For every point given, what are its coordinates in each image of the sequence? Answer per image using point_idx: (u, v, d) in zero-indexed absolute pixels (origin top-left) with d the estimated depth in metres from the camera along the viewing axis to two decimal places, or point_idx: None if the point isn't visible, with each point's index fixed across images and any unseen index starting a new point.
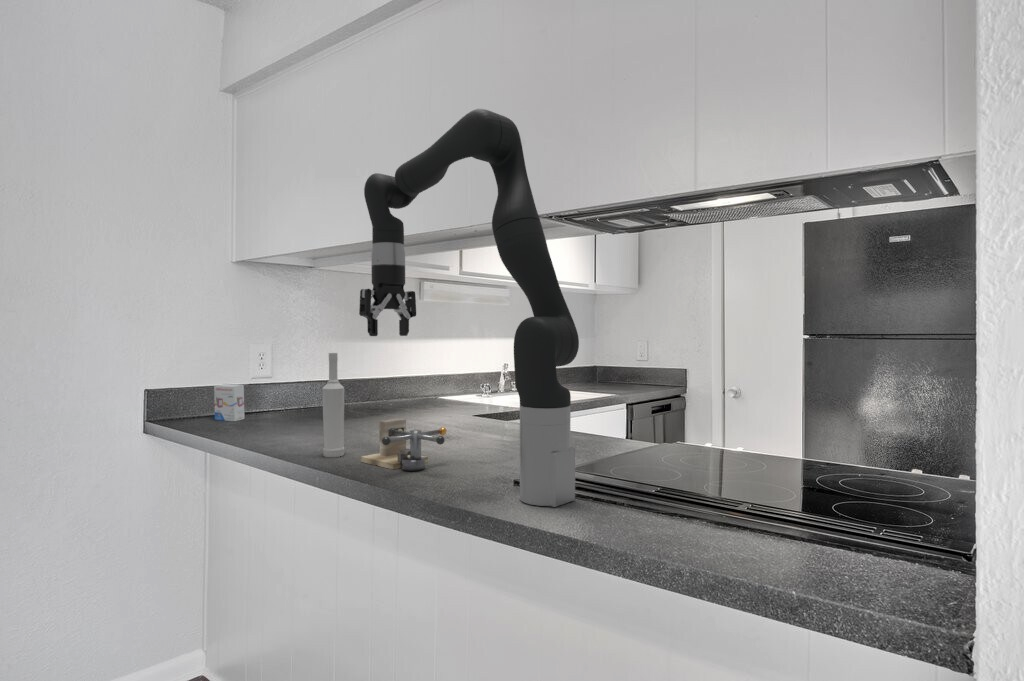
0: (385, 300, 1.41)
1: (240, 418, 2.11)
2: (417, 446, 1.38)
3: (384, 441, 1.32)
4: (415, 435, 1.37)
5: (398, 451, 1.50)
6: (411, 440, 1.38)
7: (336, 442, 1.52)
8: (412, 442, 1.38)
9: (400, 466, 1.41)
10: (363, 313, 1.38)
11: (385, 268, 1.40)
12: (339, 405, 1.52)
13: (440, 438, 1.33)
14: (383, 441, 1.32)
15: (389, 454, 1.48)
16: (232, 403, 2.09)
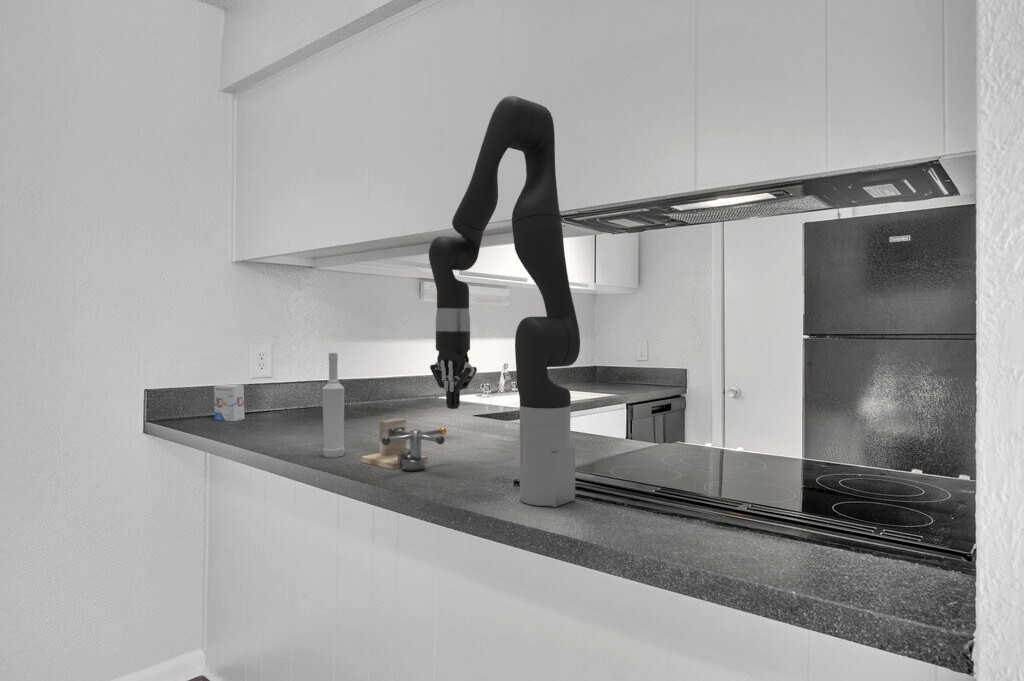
0: None
1: (240, 418, 2.11)
2: (417, 446, 1.38)
3: (384, 441, 1.32)
4: (415, 435, 1.37)
5: (398, 451, 1.50)
6: (411, 440, 1.38)
7: (336, 442, 1.52)
8: (412, 442, 1.38)
9: (400, 466, 1.41)
10: (464, 386, 1.37)
11: (469, 335, 1.38)
12: (339, 405, 1.52)
13: (440, 438, 1.33)
14: (383, 441, 1.32)
15: (389, 454, 1.48)
16: (232, 403, 2.09)
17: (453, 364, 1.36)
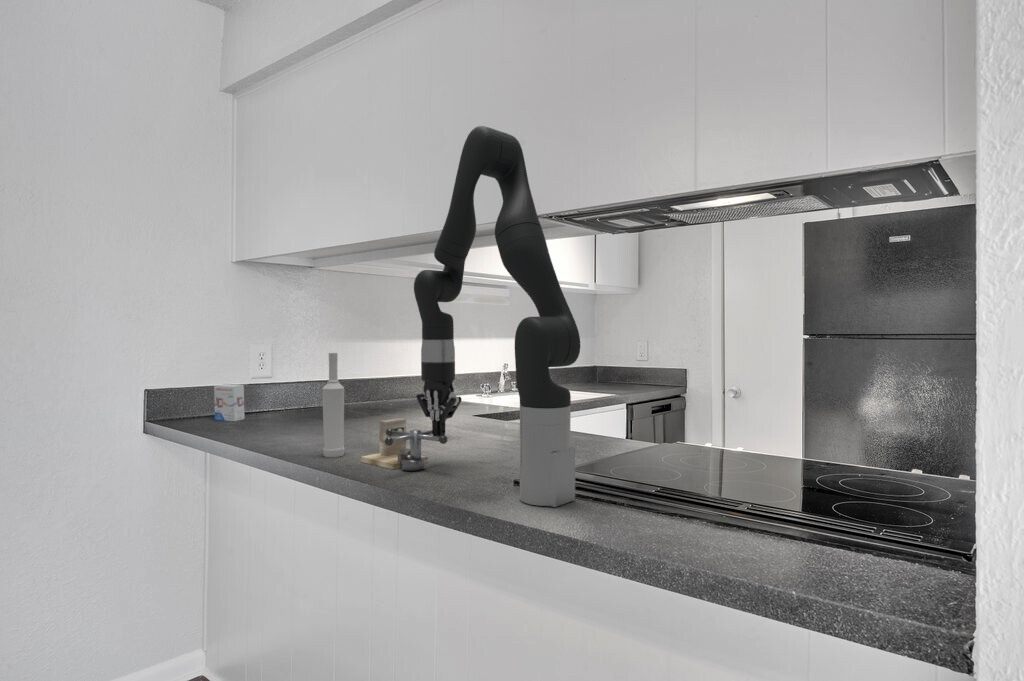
0: None
1: (240, 418, 2.11)
2: (417, 446, 1.38)
3: (387, 442, 1.31)
4: (416, 435, 1.37)
5: (398, 451, 1.50)
6: (411, 440, 1.38)
7: (336, 442, 1.52)
8: (413, 442, 1.37)
9: (400, 466, 1.41)
10: (449, 416, 1.40)
11: (454, 365, 1.42)
12: (338, 405, 1.52)
13: (443, 437, 1.33)
14: (386, 442, 1.31)
15: (389, 454, 1.48)
16: (232, 403, 2.09)
17: (438, 394, 1.39)
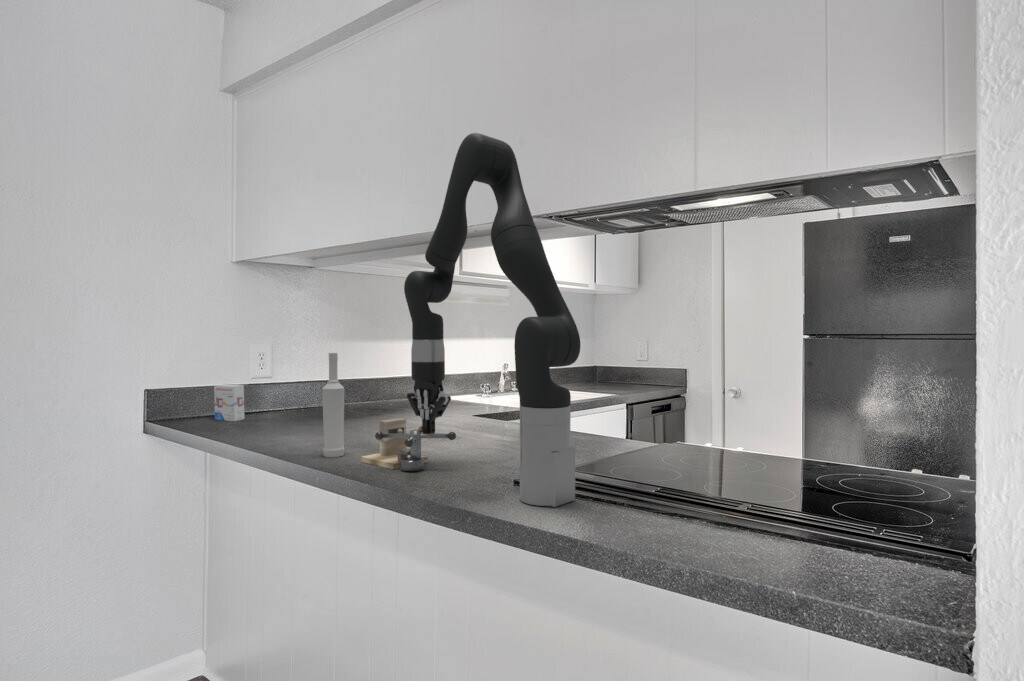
0: None
1: (240, 418, 2.11)
2: (420, 446, 1.38)
3: (410, 443, 1.30)
4: (419, 434, 1.38)
5: (398, 451, 1.50)
6: (414, 440, 1.37)
7: (336, 442, 1.52)
8: (416, 442, 1.37)
9: (400, 466, 1.41)
10: (438, 414, 1.42)
11: (444, 364, 1.44)
12: (339, 405, 1.52)
13: (454, 434, 1.38)
14: (409, 443, 1.30)
15: (389, 454, 1.48)
16: (232, 403, 2.09)
17: (428, 393, 1.41)
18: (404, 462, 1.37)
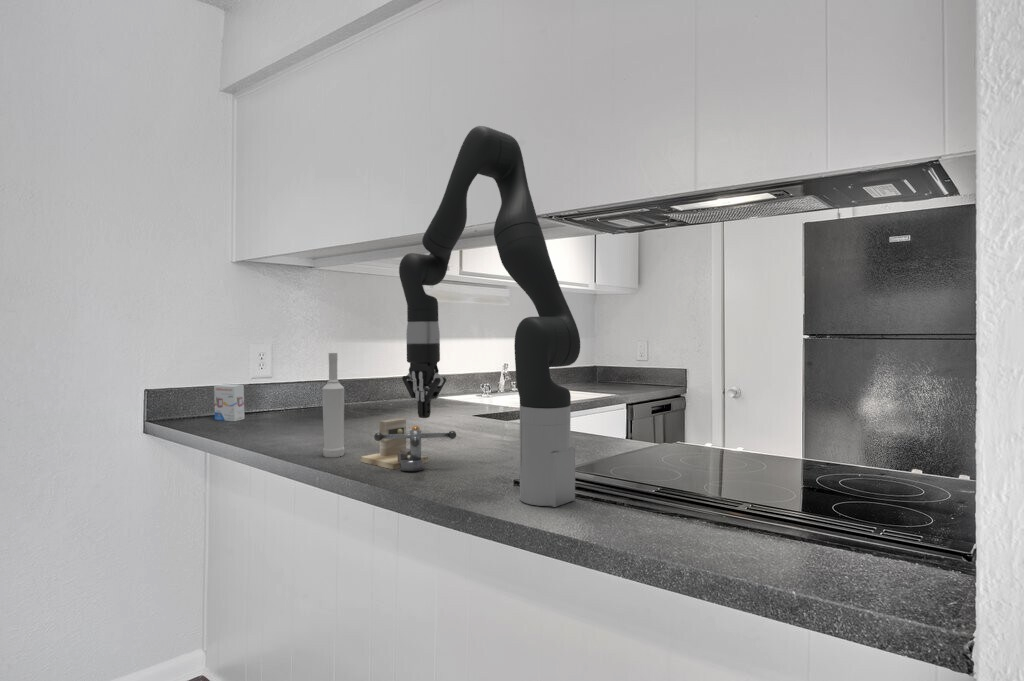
0: None
1: (240, 418, 2.11)
2: (420, 446, 1.38)
3: (417, 443, 1.30)
4: (419, 434, 1.38)
5: (398, 451, 1.50)
6: None
7: (336, 442, 1.52)
8: None
9: (400, 466, 1.41)
10: (434, 396, 1.43)
11: (439, 347, 1.45)
12: (338, 405, 1.52)
13: (454, 432, 1.39)
14: (416, 443, 1.30)
15: (389, 454, 1.48)
16: (232, 403, 2.09)
17: (423, 375, 1.42)
18: (405, 462, 1.36)
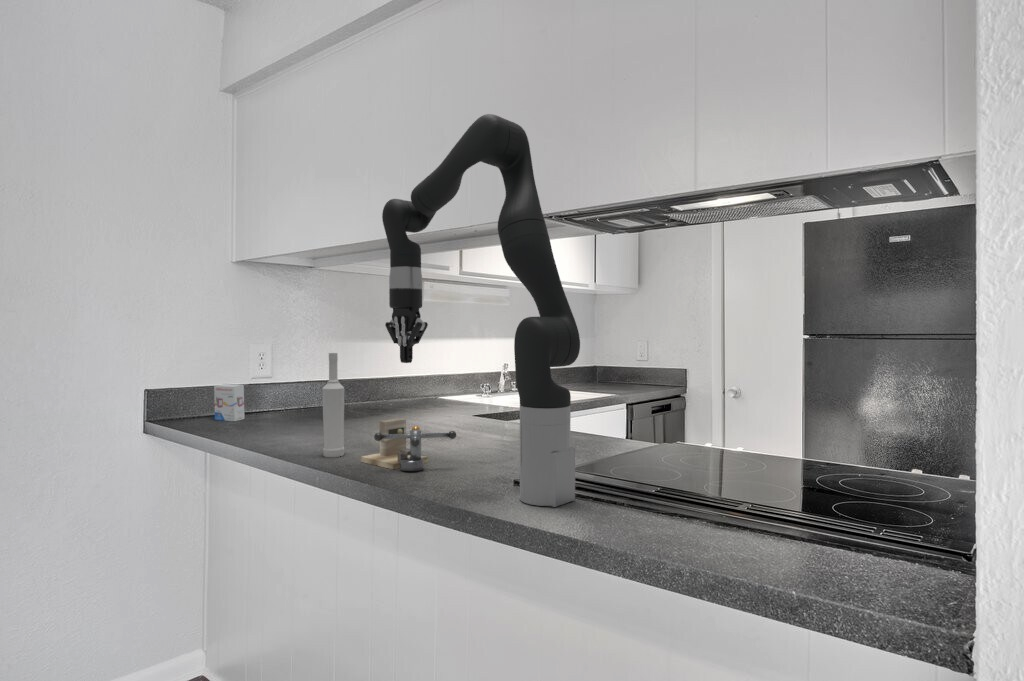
0: None
1: (240, 418, 2.11)
2: (420, 446, 1.38)
3: (417, 443, 1.30)
4: (419, 434, 1.38)
5: (398, 451, 1.50)
6: None
7: (336, 442, 1.52)
8: None
9: (400, 466, 1.41)
10: (416, 341, 1.44)
11: (421, 293, 1.46)
12: (339, 405, 1.52)
13: (454, 432, 1.39)
14: (416, 443, 1.30)
15: (389, 454, 1.48)
16: (232, 403, 2.09)
17: (405, 320, 1.44)
18: (405, 462, 1.36)
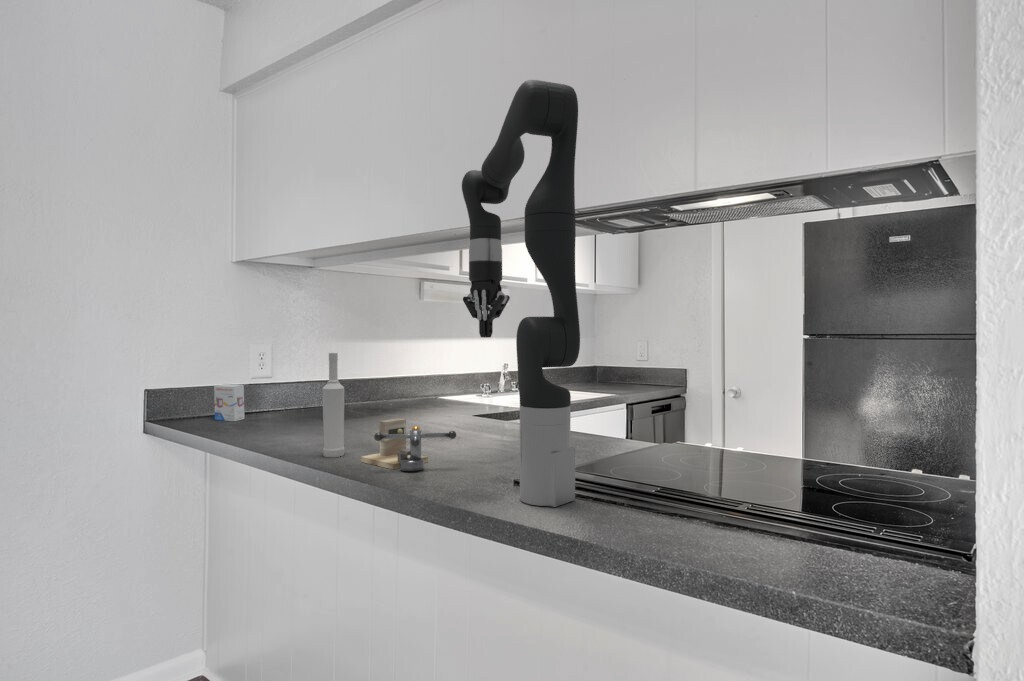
0: None
1: (240, 418, 2.11)
2: (420, 446, 1.38)
3: (417, 443, 1.30)
4: (419, 434, 1.38)
5: (398, 451, 1.50)
6: None
7: (336, 442, 1.52)
8: None
9: (400, 466, 1.41)
10: (497, 315, 1.41)
11: None
12: (339, 405, 1.52)
13: (454, 432, 1.39)
14: (416, 443, 1.30)
15: (389, 454, 1.48)
16: (232, 403, 2.09)
17: (486, 293, 1.41)
18: (405, 462, 1.36)
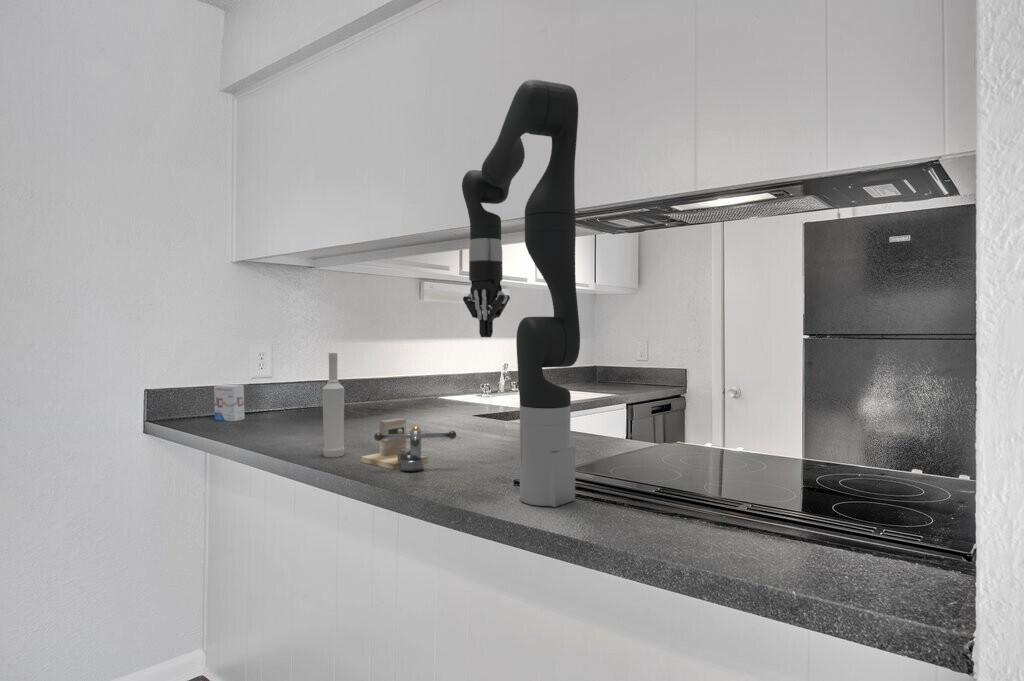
0: None
1: (240, 418, 2.11)
2: (420, 446, 1.38)
3: (417, 443, 1.30)
4: (419, 434, 1.38)
5: (398, 451, 1.50)
6: None
7: (336, 442, 1.52)
8: None
9: (400, 466, 1.41)
10: (497, 315, 1.41)
11: None
12: (338, 405, 1.52)
13: (454, 432, 1.39)
14: (416, 443, 1.30)
15: (389, 454, 1.48)
16: (232, 403, 2.09)
17: (487, 293, 1.41)
18: (405, 462, 1.36)
